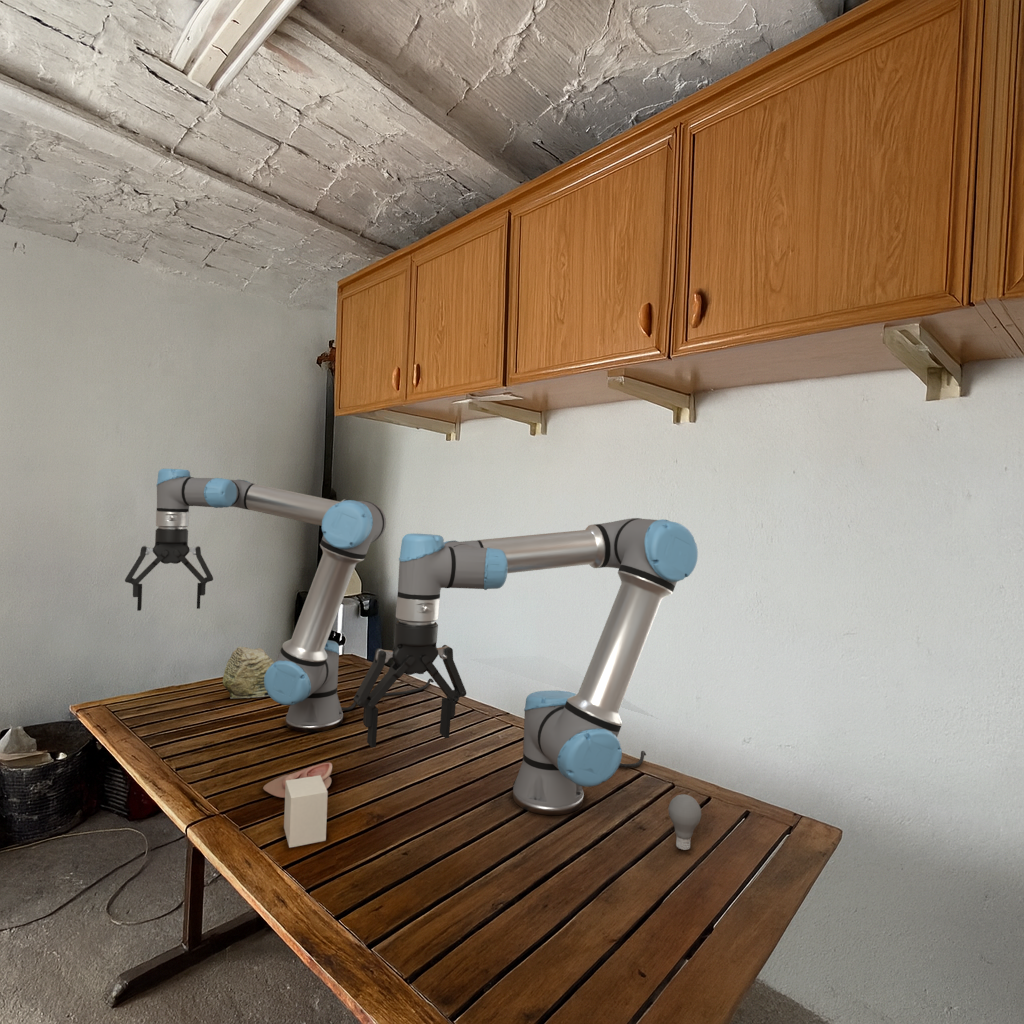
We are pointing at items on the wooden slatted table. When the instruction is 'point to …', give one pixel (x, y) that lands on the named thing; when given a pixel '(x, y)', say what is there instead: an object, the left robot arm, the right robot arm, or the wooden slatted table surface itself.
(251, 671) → the fossil
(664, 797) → the wooden slatted table surface
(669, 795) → the wooden slatted table surface
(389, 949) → the wooden slatted table surface
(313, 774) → the anatomical model
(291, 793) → the block
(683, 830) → the light bulb
